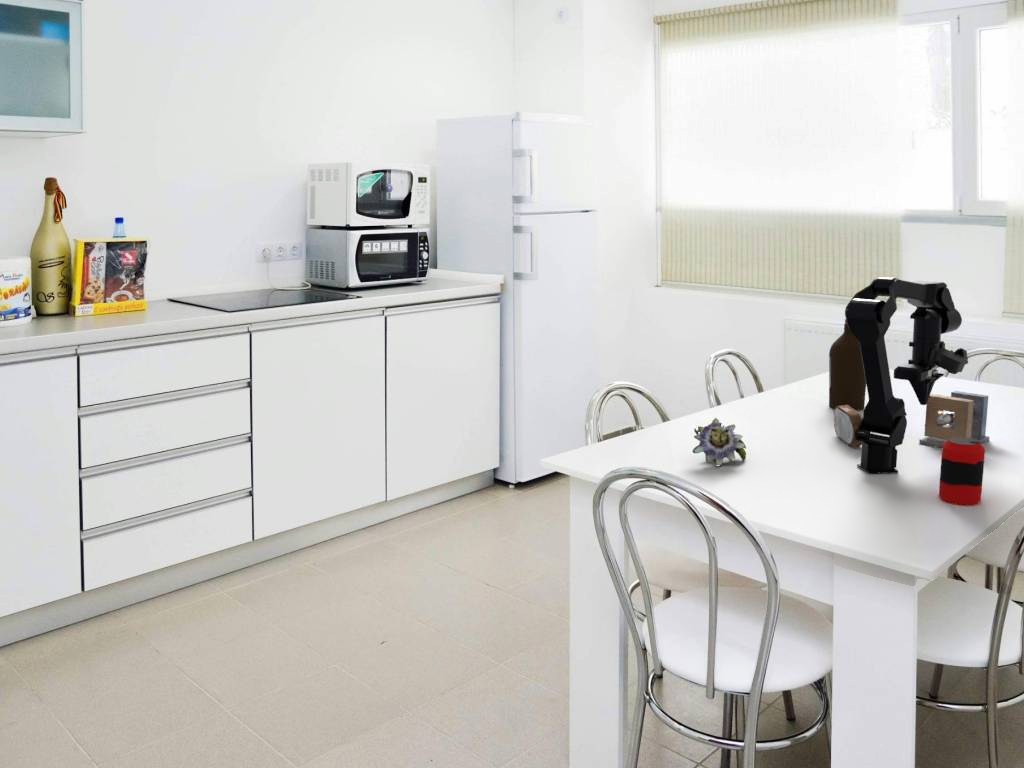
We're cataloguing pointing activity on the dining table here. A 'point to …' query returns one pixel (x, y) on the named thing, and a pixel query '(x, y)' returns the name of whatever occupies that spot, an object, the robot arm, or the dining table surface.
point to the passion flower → (719, 442)
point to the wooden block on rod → (952, 404)
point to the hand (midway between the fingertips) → (923, 404)
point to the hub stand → (977, 419)
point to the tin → (847, 424)
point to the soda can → (961, 471)
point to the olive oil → (846, 372)
